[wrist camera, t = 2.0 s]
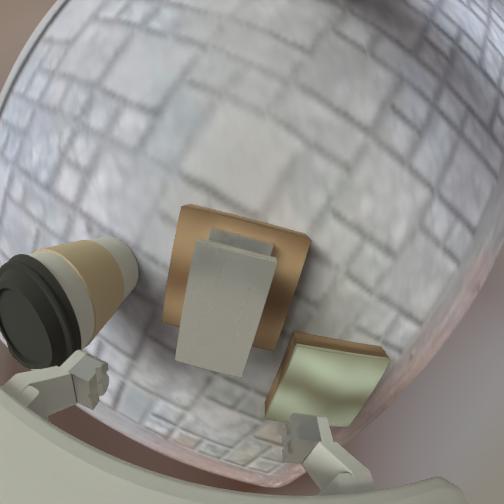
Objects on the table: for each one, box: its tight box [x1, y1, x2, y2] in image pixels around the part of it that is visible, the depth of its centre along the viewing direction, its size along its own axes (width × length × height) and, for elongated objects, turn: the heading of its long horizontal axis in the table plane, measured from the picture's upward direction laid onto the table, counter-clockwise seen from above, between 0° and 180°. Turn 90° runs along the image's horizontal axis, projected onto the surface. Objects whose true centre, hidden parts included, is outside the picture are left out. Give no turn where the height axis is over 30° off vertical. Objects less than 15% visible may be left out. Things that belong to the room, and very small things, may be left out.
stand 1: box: [162, 204, 311, 351], centre depth 25 cm, size 11×11×3 cm
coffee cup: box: [0, 236, 139, 369], centre depth 19 cm, size 9×9×15 cm
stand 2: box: [265, 331, 390, 427], centre depth 27 cm, size 11×11×3 cm
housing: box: [175, 227, 277, 377], centre depth 20 cm, size 9×5×6 cm, turn 165°
